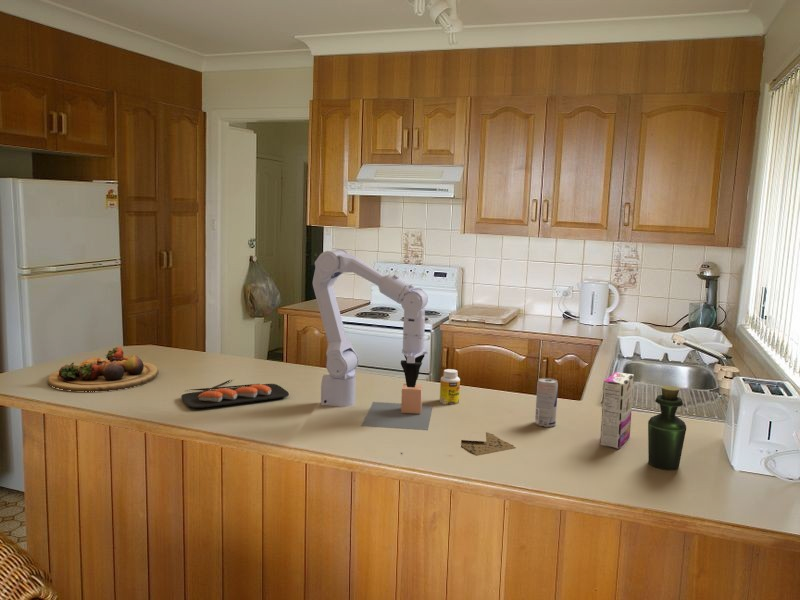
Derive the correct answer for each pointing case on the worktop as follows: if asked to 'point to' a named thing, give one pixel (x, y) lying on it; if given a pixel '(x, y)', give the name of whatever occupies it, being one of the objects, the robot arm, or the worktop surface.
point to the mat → (396, 417)
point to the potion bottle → (666, 431)
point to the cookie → (486, 445)
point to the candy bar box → (616, 409)
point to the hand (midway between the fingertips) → (412, 383)
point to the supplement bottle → (450, 387)
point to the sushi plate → (233, 395)
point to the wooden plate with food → (104, 373)
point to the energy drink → (546, 402)
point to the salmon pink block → (411, 399)
